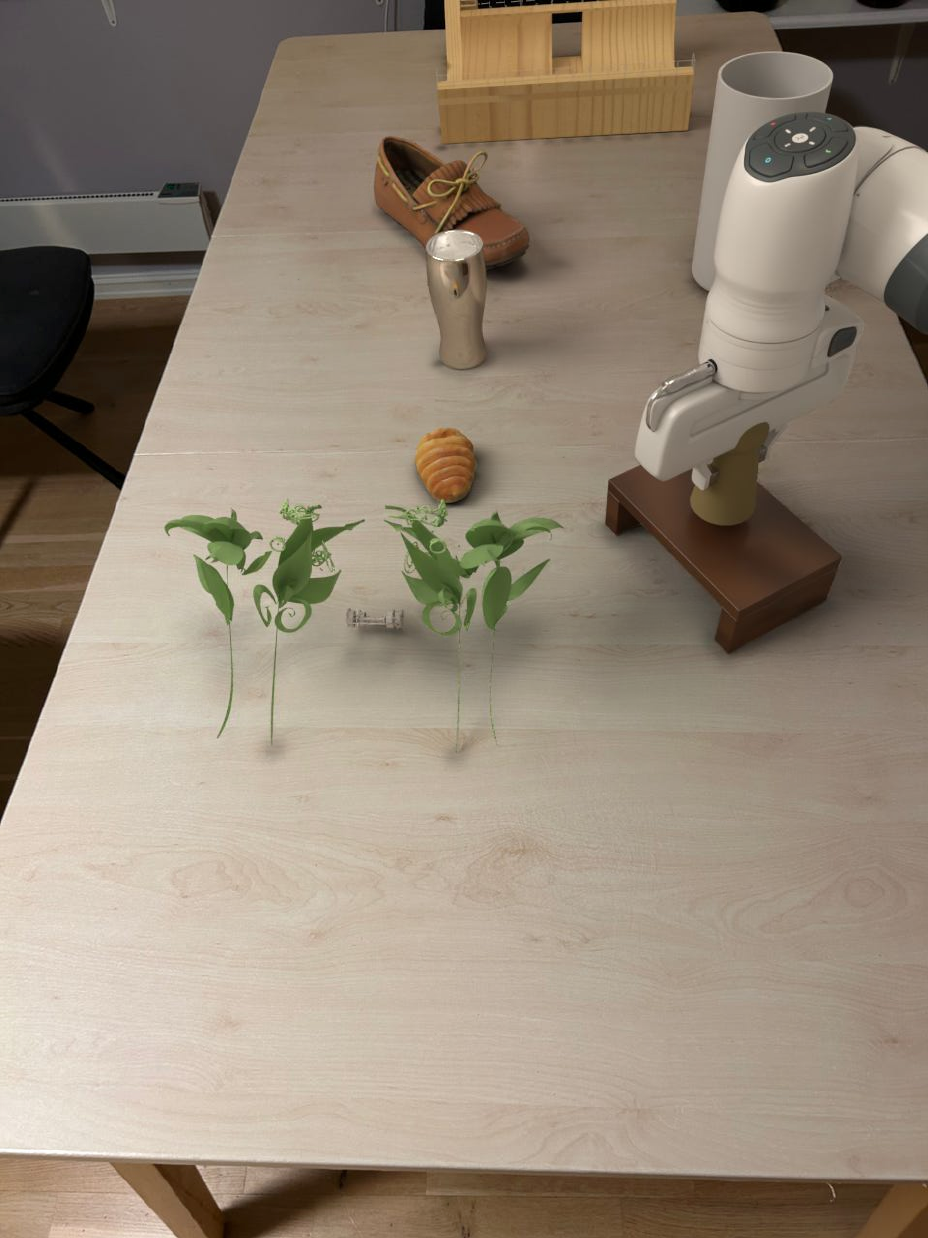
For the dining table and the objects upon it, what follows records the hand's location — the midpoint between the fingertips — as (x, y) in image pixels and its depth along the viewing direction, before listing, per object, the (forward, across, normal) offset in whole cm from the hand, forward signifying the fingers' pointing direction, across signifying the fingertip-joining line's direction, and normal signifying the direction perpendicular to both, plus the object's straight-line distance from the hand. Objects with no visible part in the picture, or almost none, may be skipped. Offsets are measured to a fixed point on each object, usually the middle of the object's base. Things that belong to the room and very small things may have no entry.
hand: (730, 470), depth 85 cm
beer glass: (+12, -4, +44) cm, 46 cm away
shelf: (+12, 0, 0) cm, 12 cm away
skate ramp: (+13, +47, +100) cm, 111 cm away
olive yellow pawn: (+4, 0, 0) cm, 4 cm away
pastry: (+12, -16, +26) cm, 33 cm away
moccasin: (+12, +8, +69) cm, 71 cm away
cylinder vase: (+13, +35, +38) cm, 53 cm away
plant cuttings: (+12, -35, +6) cm, 38 cm away
